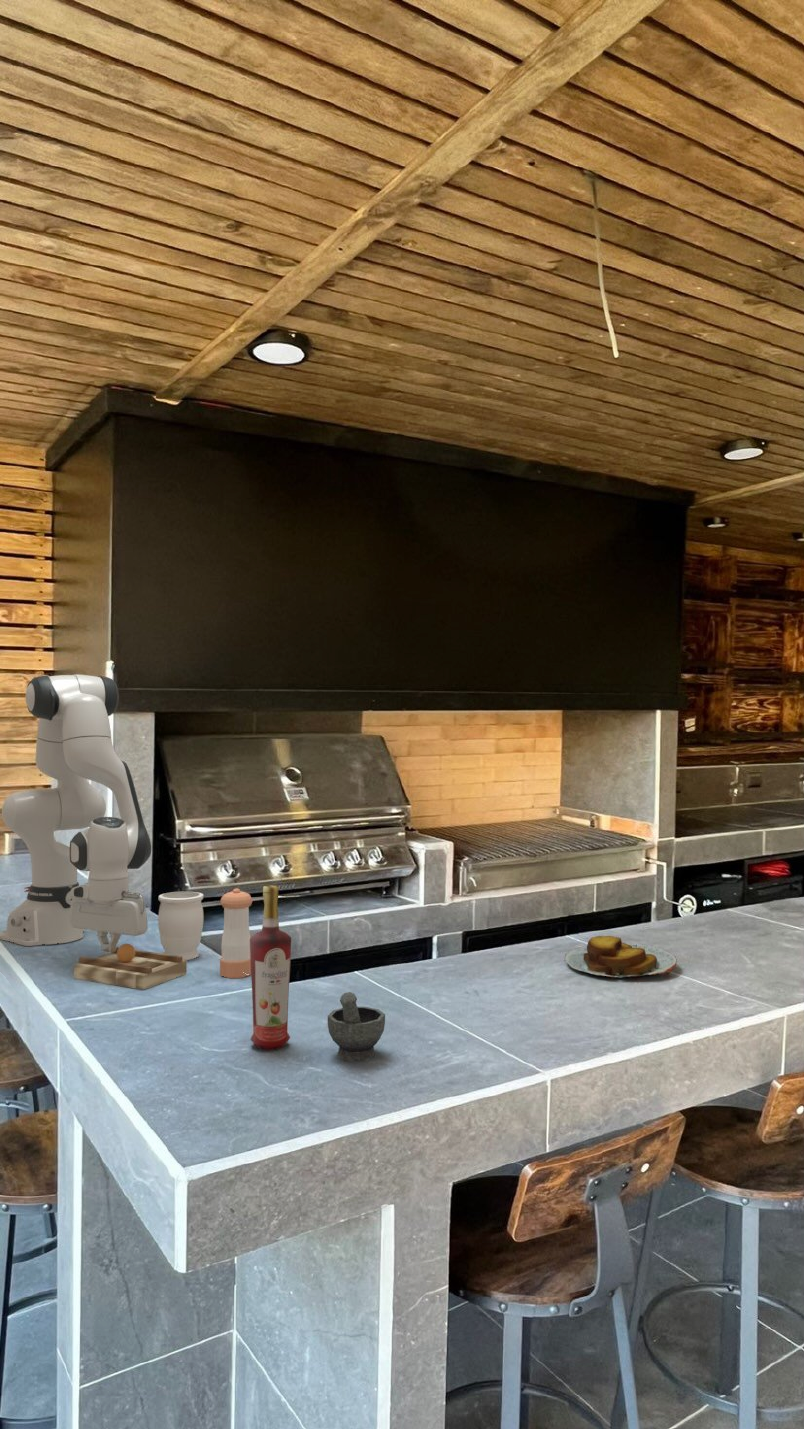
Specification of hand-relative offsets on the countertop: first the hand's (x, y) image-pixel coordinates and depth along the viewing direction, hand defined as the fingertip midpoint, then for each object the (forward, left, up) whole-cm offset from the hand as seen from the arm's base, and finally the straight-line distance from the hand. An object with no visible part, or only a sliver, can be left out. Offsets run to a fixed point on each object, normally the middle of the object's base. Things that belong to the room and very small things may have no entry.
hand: (108, 951), depth 214 cm
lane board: (+6, 0, -5) cm, 8 cm away
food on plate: (+102, +57, -5) cm, 117 cm away
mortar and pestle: (+75, -21, -5) cm, 78 cm away
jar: (+5, +18, -5) cm, 20 cm away
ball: (+5, 0, 0) cm, 5 cm away
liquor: (+59, -23, -5) cm, 64 cm away
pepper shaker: (+26, +12, -5) cm, 29 cm away
